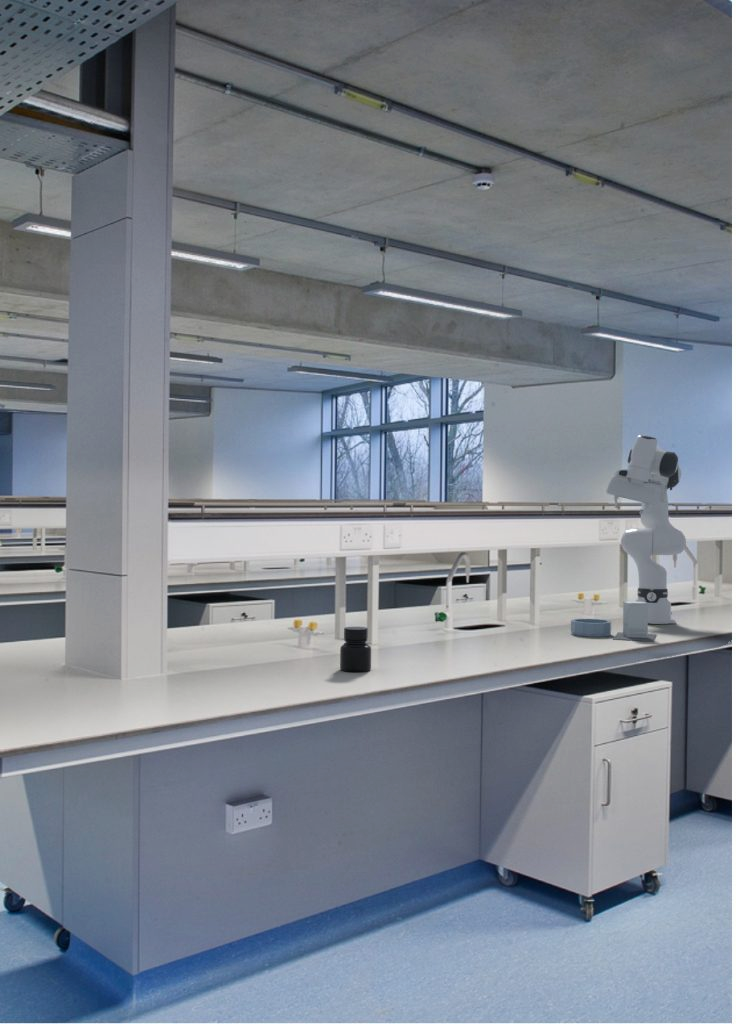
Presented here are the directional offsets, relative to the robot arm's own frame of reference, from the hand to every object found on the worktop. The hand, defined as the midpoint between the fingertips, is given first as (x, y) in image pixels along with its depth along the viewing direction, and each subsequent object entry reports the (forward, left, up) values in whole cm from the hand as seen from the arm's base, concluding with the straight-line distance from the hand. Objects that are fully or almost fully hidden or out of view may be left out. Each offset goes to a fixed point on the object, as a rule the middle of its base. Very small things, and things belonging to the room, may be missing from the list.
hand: (628, 511), depth 359 cm
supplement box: (+16, +4, -46) cm, 49 cm away
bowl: (+15, -12, -46) cm, 50 cm away
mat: (+16, +4, -46) cm, 49 cm away
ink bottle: (+122, -65, -46) cm, 146 cm away
